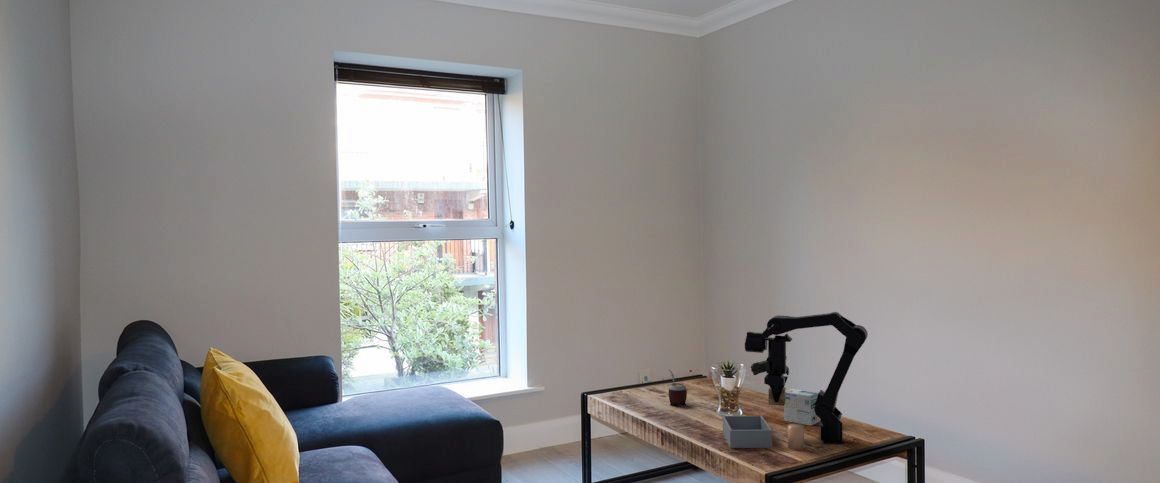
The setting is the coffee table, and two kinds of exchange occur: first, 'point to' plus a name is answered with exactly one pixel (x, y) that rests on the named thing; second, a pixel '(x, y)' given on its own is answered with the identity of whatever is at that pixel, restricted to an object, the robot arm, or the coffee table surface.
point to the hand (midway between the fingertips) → (777, 400)
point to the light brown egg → (795, 437)
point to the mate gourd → (677, 393)
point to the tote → (747, 432)
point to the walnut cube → (781, 399)
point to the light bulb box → (800, 407)
